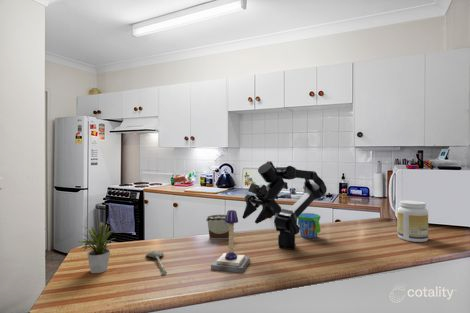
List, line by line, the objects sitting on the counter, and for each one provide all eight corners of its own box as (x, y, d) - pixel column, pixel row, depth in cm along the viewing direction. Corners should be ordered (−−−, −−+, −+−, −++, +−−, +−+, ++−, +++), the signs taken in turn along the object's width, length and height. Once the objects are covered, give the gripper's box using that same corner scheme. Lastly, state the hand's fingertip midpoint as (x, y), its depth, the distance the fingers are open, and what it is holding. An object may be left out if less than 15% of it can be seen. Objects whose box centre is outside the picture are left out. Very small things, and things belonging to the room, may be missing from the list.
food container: (234, 235, 141) (234, 214, 141) (232, 239, 135) (232, 217, 135) (208, 234, 142) (208, 214, 142) (206, 238, 136) (206, 216, 136)
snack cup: (291, 232, 146) (291, 212, 146) (311, 231, 148) (311, 211, 148) (305, 242, 130) (305, 219, 130) (327, 240, 133) (327, 218, 133)
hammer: (162, 255, 117) (145, 258, 115) (161, 246, 117) (144, 249, 115) (173, 273, 97) (153, 278, 95) (173, 263, 97) (152, 267, 95)
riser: (249, 261, 108) (249, 254, 108) (242, 272, 97) (242, 265, 97) (221, 258, 111) (221, 251, 111) (210, 269, 100) (210, 261, 100)
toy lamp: (224, 255, 106) (224, 209, 106) (237, 255, 107) (237, 209, 107) (225, 260, 101) (225, 212, 101) (238, 259, 102) (238, 211, 102)
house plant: (76, 264, 104) (76, 219, 104) (118, 259, 110) (118, 215, 110) (71, 281, 91) (71, 228, 91) (119, 273, 97) (119, 224, 96)
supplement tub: (433, 239, 133) (433, 202, 133) (420, 244, 127) (420, 205, 126) (405, 233, 144) (405, 199, 143) (392, 237, 137) (392, 201, 136)
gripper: (248, 175, 124) (225, 203, 119) (274, 178, 107) (249, 211, 102) (263, 192, 128) (241, 220, 122) (291, 198, 111) (267, 231, 106)
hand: (249, 220), depth 113 cm, fingers open, 9 cm apart
